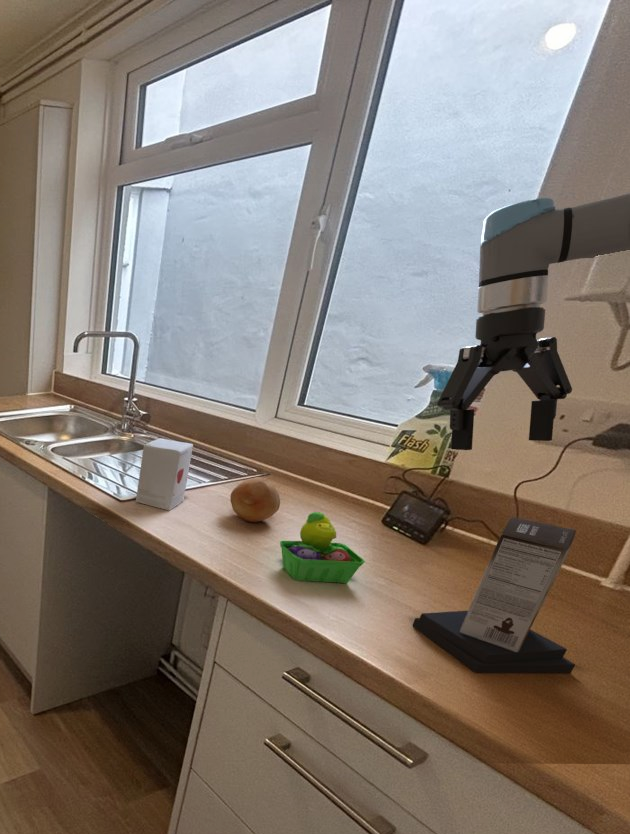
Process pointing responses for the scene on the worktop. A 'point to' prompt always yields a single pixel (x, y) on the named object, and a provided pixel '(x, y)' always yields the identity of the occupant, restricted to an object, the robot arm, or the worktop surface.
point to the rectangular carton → (164, 473)
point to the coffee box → (517, 582)
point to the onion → (255, 499)
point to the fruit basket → (319, 553)
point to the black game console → (492, 648)
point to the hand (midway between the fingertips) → (500, 445)
